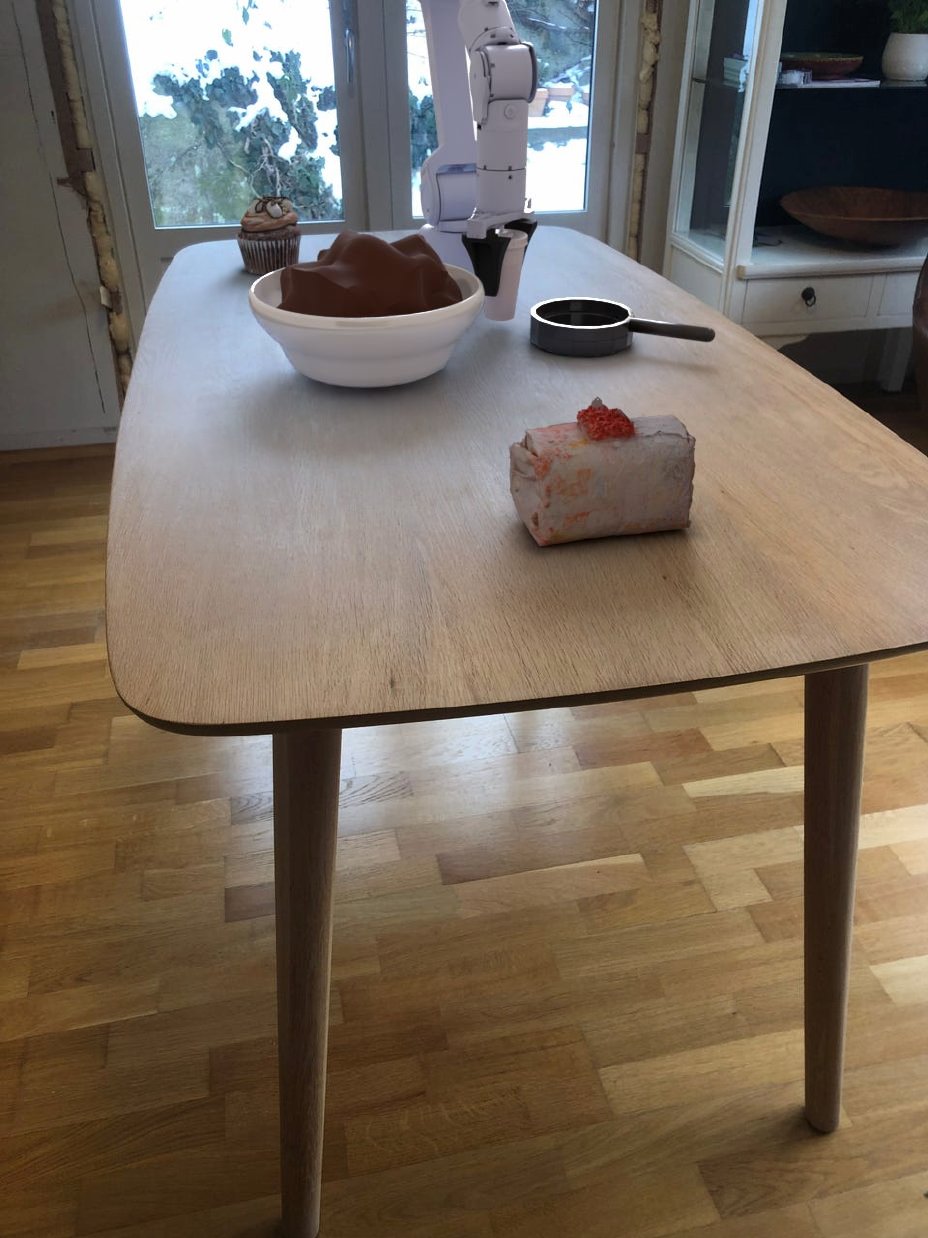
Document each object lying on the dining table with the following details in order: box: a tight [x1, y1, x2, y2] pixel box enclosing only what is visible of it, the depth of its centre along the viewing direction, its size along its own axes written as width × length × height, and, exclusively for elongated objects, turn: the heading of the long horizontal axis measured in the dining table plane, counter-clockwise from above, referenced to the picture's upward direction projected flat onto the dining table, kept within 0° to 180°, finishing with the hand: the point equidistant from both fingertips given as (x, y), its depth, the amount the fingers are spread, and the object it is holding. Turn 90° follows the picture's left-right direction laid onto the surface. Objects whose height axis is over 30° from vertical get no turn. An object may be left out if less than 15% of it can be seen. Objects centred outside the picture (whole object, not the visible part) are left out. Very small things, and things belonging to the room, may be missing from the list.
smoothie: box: [483, 225, 529, 322], centre depth 115 cm, size 6×6×14 cm
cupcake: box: [235, 194, 303, 276], centre depth 141 cm, size 10×10×10 cm
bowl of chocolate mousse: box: [247, 229, 485, 389], centre depth 102 cm, size 25×25×15 cm
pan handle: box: [629, 317, 716, 343], centre depth 110 cm, size 11×2×2 cm, turn 65°
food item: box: [508, 396, 697, 547], centre depth 74 cm, size 14×8×10 cm, turn 102°
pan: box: [529, 297, 636, 358], centre depth 114 cm, size 12×12×4 cm
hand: (499, 288), depth 117 cm, fingers closed on smoothie, 6 cm apart
